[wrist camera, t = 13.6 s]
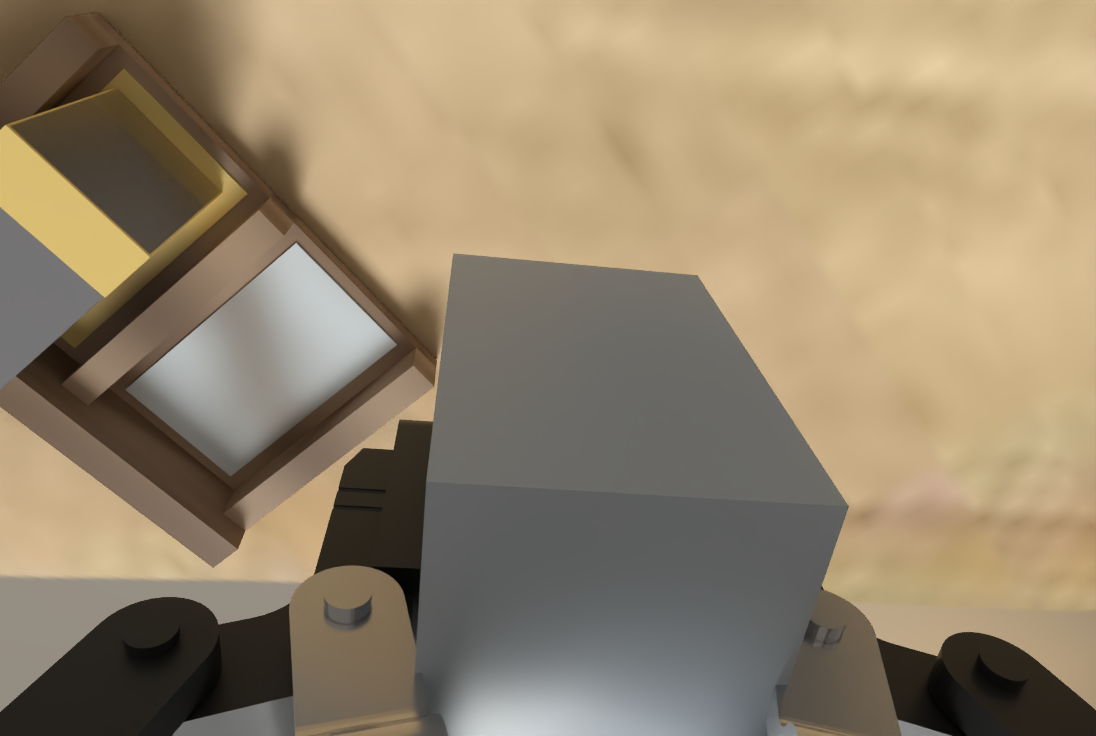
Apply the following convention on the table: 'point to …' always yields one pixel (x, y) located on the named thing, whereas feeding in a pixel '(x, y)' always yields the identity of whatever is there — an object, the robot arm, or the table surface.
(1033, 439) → the table surface
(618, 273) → the plug
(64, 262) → the plug
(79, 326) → the brown divided tray
